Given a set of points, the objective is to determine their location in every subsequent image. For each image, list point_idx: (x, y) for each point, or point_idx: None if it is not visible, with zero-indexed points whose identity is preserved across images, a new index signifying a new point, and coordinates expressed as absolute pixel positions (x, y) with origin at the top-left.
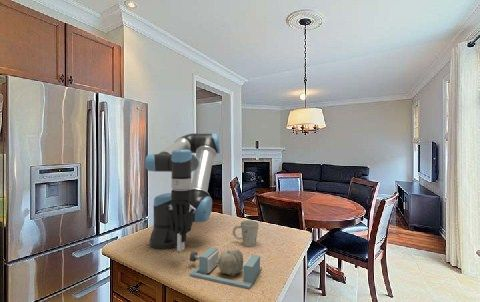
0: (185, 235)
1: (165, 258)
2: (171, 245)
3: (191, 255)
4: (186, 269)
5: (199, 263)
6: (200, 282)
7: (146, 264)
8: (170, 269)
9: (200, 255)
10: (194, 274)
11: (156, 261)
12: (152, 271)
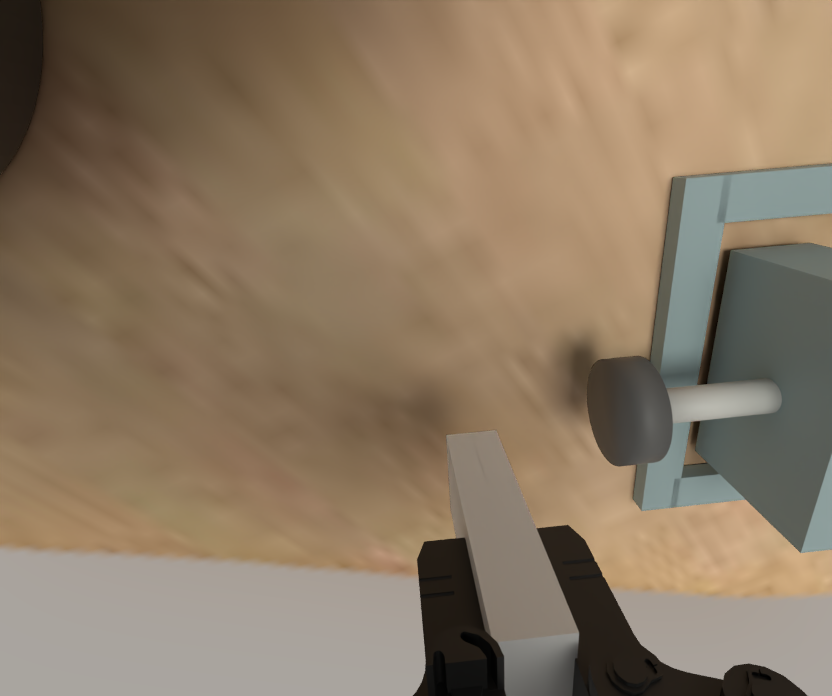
0: (621, 629)
1: (232, 372)
2: (7, 112)
3: (633, 464)
4: (558, 439)
5: (748, 499)
6: (740, 521)
7: (187, 522)
8: (435, 493)
9: (807, 535)
10: (682, 504)
11: (212, 452)
12: (331, 566)
